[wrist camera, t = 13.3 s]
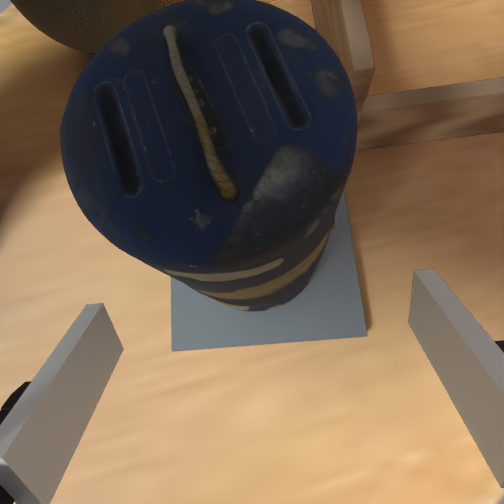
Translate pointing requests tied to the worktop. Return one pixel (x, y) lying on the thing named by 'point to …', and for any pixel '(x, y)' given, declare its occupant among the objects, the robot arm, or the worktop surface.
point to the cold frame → (406, 102)
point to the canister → (214, 147)
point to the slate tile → (286, 316)
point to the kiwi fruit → (83, 19)
